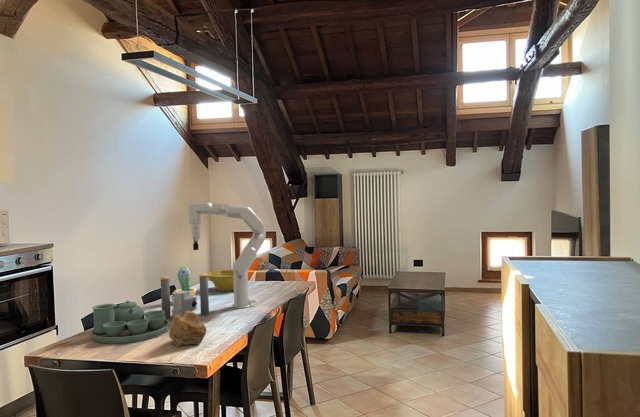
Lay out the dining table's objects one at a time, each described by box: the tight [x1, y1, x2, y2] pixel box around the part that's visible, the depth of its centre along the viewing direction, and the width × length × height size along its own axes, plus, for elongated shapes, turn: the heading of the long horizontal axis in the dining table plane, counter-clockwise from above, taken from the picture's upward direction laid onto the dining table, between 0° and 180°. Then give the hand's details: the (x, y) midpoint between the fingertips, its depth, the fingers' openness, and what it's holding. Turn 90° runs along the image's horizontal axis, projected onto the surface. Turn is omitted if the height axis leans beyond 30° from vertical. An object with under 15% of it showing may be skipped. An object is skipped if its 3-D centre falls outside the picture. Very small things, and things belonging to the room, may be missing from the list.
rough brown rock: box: [169, 311, 207, 347], centre depth 237 cm, size 23×17×15 cm
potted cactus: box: [173, 265, 197, 297], centre depth 333 cm, size 15×15×25 cm
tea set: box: [90, 300, 170, 344], centre depth 258 cm, size 40×40×16 cm
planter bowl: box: [206, 269, 234, 292], centre depth 374 cm, size 32×32×13 cm
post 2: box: [198, 273, 210, 316], centre depth 294 cm, size 5×5×25 cm
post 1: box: [160, 276, 172, 320], centre depth 288 cm, size 5×5×25 cm
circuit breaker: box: [171, 291, 198, 318], centre depth 291 cm, size 8×14×15 cm, turn 78°
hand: (195, 249), depth 308 cm, fingers closed
